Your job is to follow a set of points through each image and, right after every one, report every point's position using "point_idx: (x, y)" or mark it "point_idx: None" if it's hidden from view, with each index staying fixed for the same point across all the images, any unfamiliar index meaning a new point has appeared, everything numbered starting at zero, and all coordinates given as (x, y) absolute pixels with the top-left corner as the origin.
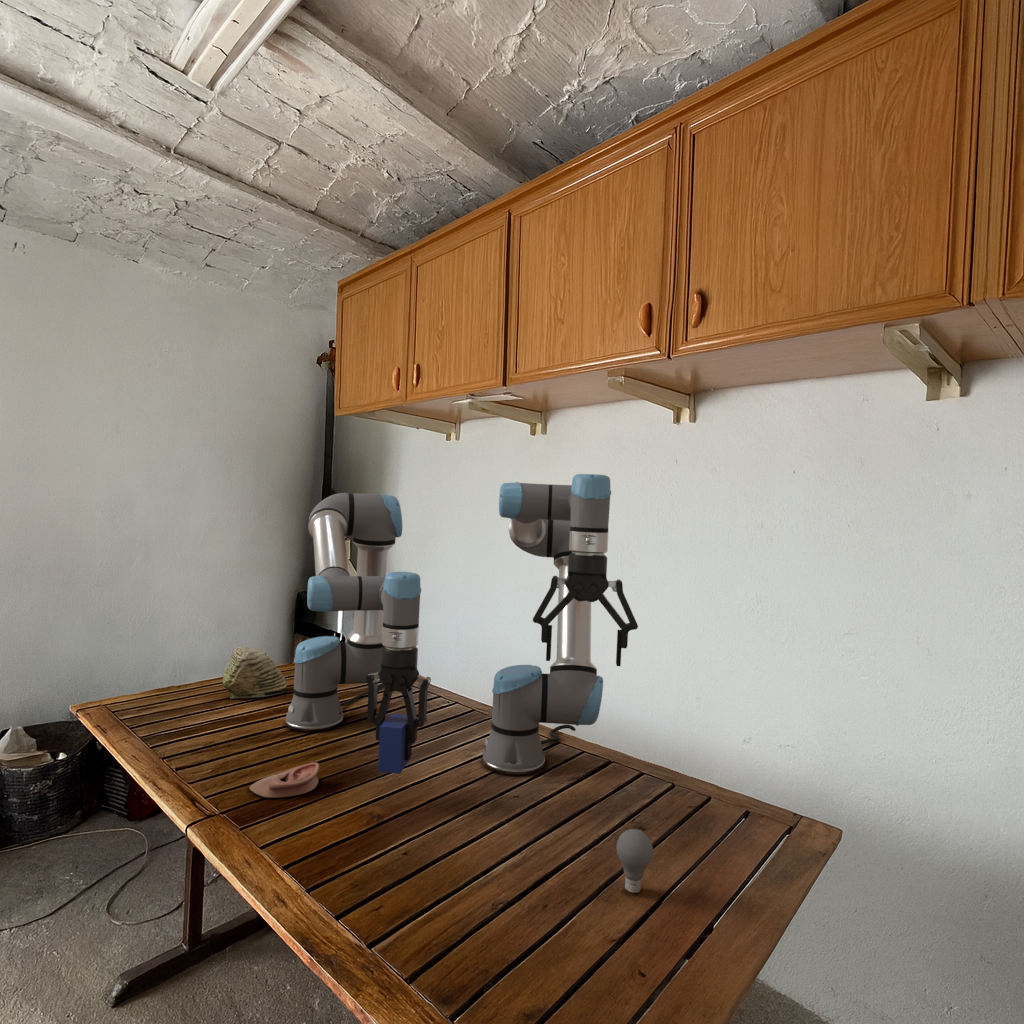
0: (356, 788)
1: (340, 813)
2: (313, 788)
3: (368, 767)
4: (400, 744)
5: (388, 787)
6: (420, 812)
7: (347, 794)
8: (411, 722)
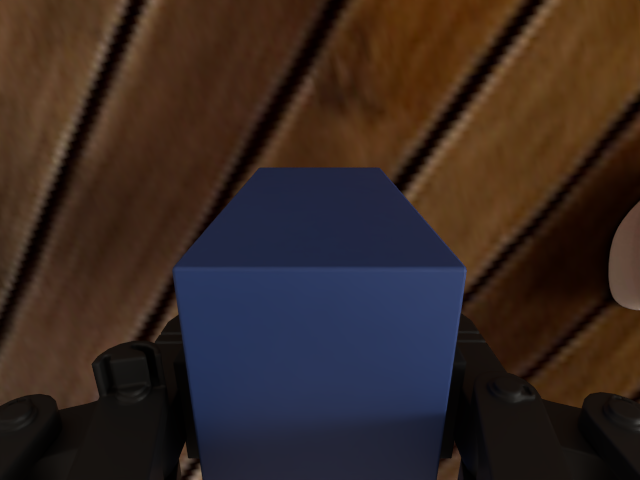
0: (468, 271)
1: (480, 88)
2: (617, 233)
3: None
4: (229, 211)
5: None
6: (203, 156)
7: (488, 227)
8: (122, 425)
